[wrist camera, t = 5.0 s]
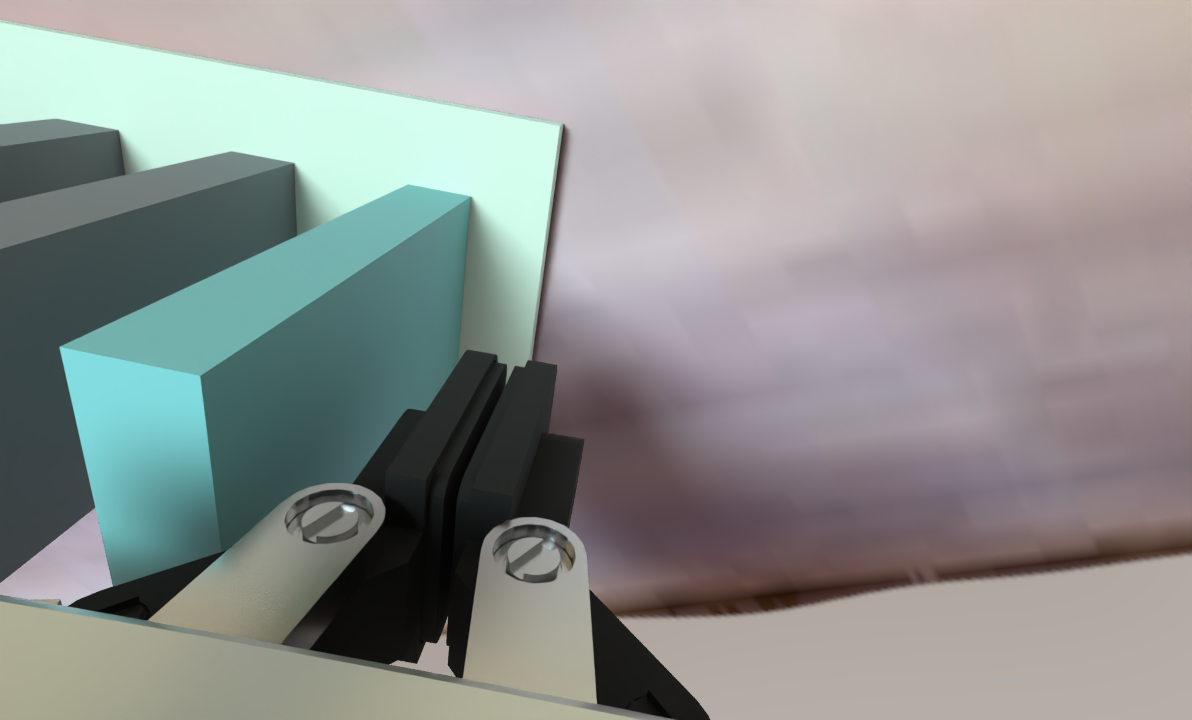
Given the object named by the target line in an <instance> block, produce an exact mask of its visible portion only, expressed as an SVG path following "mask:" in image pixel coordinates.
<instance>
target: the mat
mask: <svg viewBox="0 0 1192 720" xmlns="http://www.w3.org/2000/svg"><path fill="white" fill-rule="evenodd" d="M56 118H57V119H62V120H68V121H73V122H78V123H84V124H89V125H94V126H100V127H105V128H110V129H116V130H119V136H120V143H121V149H122V156H123V162H124V168H125V175H127V174H132V173H136V172H141V171H145V170H150V169H154V168H159V167H163V166H168V165H172V164H177V163H181V162H185V161H190V160H194V159H199V158H203V157H208V156H212V155H217V154H221V153H226V152H230V151H233V152H239V153H244V154H249V155H255V156H260V157H265V158H271V159H276V160H281V161H287V162H292V163H294V171H295V195H296V219H297V236H298V235H300V234H303V233H305V232H307V231H309V230H311V229H313V228H315V227H318V226H320V225H322V224H324V223H326V222H328V221H330V220H333V219H335V218H337V217H339V216H341V215H343V214H345V213H348V212H350V211H352V210H354V209H356V208H358V207H360V206H363V205H365V204H367V203H369V202H371V201H373V200H375V199H378V198H380V197H382V196H384V195H386V194H388V193H390V192H393V191H395V190H397V189H399V188H401V187H403V186H405V185H408V184H410V185H415V186H420V187H425V188H430V189H436V190H441V191H446V192H451V193H456V194H461V195H467V196H471V203H470V216H469V228H468V241H467V254H466V267H465V280H464V293H463V306H462V319H461V332H460V344H459V357H458V362H459V360H460V359H461V357H462V356H463V354H464V353H465V351H466V350H467V349H468V350H474V351H479V352H485V353H491V354H496V355H497V356H498V363H503V364H507V377H506V384H507V382H508V379H509V377H510V375H511V373H512V371H513V369H514V367H515V366H520V367H525V365H526V363H527V361H528V360H530V361H532V355H533V348H534V340H535V333H536V325H537V318H538V310H539V303H540V295H541V288H542V280H543V273H544V265H545V258H546V250H547V243H548V236H549V228H550V221H551V213H552V206H553V198H554V191H555V183H556V176H557V168H558V161H559V153H560V146H561V138H562V131H563V123H558V122H552V121H547V120H542V119H536V118H531V117H525V116H520V115H514V114H509V113H504V112H498V111H493V110H487V109H482V108H477V107H471V106H466V105H460V104H455V103H450V102H444V101H439V100H433V99H428V98H422V97H417V96H412V95H406V94H401V93H395V92H390V91H385V90H379V89H374V88H368V87H363V86H358V85H352V84H347V83H341V82H336V81H330V80H325V79H320V78H314V77H309V76H303V75H298V74H293V73H287V72H282V71H276V70H271V69H266V68H260V67H255V66H249V65H244V64H239V63H233V62H228V61H222V60H217V59H211V58H206V57H201V56H195V55H190V54H184V53H179V52H174V51H168V50H163V49H157V48H152V47H147V46H141V45H136V44H130V43H125V42H119V41H114V40H109V39H103V38H98V37H92V36H87V35H82V34H76V33H71V32H65V31H60V30H55V29H49V28H44V27H38V26H33V25H27V24H22V23H17V22H11V21H6V20H0V124H8V123H18V122H27V121H37V120H46V119H56Z"/></svg>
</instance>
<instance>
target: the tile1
mask: <svg viewBox="0 0 1192 720" xmlns="http://www.w3.org/2000/svg"><path fill="white" fill-rule="evenodd" d="M470 203H471V196H467V195H461V194H456V193H451V192H446V191H441V190H436V189H430V188H425V187H420V186H415V185H410V184H408V185H405V186H403V187H401V188H399V189H397V190H395V191H393V192H390V193H388V194H386V195H384V196H382V197H380V198H378V199H375V200H373V201H371V202H369V203H367V204H365V205H363V206H360V207H358V208H356V209H354V210H352V211H350V212H348V213H345V214H343V215H341V216H339V217H337V218H335V219H333V220H330V221H328V222H326V223H324V224H322V225H320V226H318V227H315V228H313V229H311V230H309V231H307V232H305V233H303V234H300V235H298V236H296V237H294V238H292V239H290V240H288V241H285V242H283V243H281V244H279V245H277V246H275V247H273V248H270V249H268V250H266V251H264V252H262V253H260V254H258V255H255V256H253V257H251V258H249V259H247V260H245V261H243V262H240V263H238V264H236V265H234V266H232V267H230V268H228V269H225V270H223V271H221V272H219V273H217V274H215V275H213V276H210V277H208V278H206V279H204V280H202V281H200V282H198V283H195V284H193V285H191V286H189V287H187V288H185V289H182V290H180V291H178V292H176V293H174V294H172V295H170V296H167V297H165V298H163V299H161V300H159V301H157V302H155V303H152V304H150V305H148V306H146V307H144V308H142V309H140V310H137V311H135V312H133V313H131V314H129V315H127V316H125V317H122V318H120V319H118V320H116V321H114V322H112V323H110V324H107V325H105V326H103V327H101V328H99V329H97V330H95V331H92V332H90V333H88V334H86V335H84V336H82V337H80V338H77V339H75V340H73V341H71V342H69V343H67V344H65V345H62V346H60V352H61V356H62V361H63V365H64V370H65V374H66V378H67V383H68V387H69V392H70V396H71V401H72V405H73V410H74V414H75V419H76V423H77V428H78V432H79V437H80V441H81V445H82V450H83V454H84V459H85V463H86V468H87V472H88V477H89V481H90V486H91V490H92V495H93V499H94V504H95V508H96V512H97V517H98V521H99V526H100V530H101V535H102V539H103V544H104V548H105V553H106V557H107V562H108V566H109V570H110V575H111V579H112V584H113V586H117V585H120V584H123V583H126V582H129V581H132V580H135V579H138V578H141V577H145V576H148V575H151V574H154V573H157V572H160V571H163V570H166V569H170V568H173V567H176V566H179V565H182V564H185V563H188V562H191V561H194V560H198V559H201V558H204V557H207V556H210V555H213V554H216V553H219V552H222V551H226V550H228V549H229V548H231V547H232V546H233V545H234V544H235V543H236V542H237V541H239V540H240V539H241V538H242V537H243V536H244V535H245V534H246V533H248V532H249V531H250V530H251V529H252V528H253V527H254V526H256V525H257V524H258V523H259V522H260V521H261V520H262V519H264V518H265V517H266V516H267V515H268V514H269V513H270V512H271V511H273V510H274V509H275V508H276V507H277V506H278V505H279V504H281V503H282V502H283V501H284V500H286V499H287V498H289V497H290V496H292V495H293V494H295V493H296V492H299V491H301V490H304V489H306V488H309V487H311V486H316V485H321V484H326V483H348V484H353V482H354V481H355V479H356V478H357V477H358V475H359V474H360V472H361V471H362V470H363V468H364V467H365V466H366V464H367V463H368V461H369V460H370V459H371V457H372V456H373V454H374V453H375V452H376V450H377V449H378V448H379V446H380V445H381V443H382V442H383V441H384V439H385V438H386V436H387V435H388V434H389V432H390V431H391V430H392V428H393V427H394V425H395V424H396V423H397V421H398V420H399V418H400V417H401V416H402V414H403V413H404V412H405V411H406V410H407V409H416V410H421V411H426V410H427V409H428V407H429V406H430V404H431V403H432V401H433V400H434V398H435V397H436V395H437V394H438V392H439V391H440V389H441V388H442V386H443V385H444V383H445V382H446V380H447V379H448V377H449V375H450V374H451V372H452V371H453V369H454V368H455V366H456V365H457V363H458V357H459V344H460V332H461V319H462V306H463V293H464V280H465V267H466V254H467V241H468V228H469V216H470Z"/></svg>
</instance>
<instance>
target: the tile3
mask: <svg viewBox="0 0 1192 720" xmlns="http://www.w3.org/2000/svg"><path fill="white" fill-rule="evenodd" d="M123 175H125V168H124V162H123V156H122V149H121V143H120V136H119V130H116V129H110V128H105V127H100V126H94V125H89V124H84V123H78V122H73V121H68V120H62V119H57V118H56V119H46V120H37V121H27V122H18V123H8V124H0V203H2V202H7V201H11V200H16V199H20V198H25V197H29V196H34V195H38V194H43V193H47V192H52V191H56V190H60V189H65V188H69V187H74V186H78V185H83V184H87V183H92V182H96V181H101V180H105V179H110V178H114V177H118V176H123Z"/></svg>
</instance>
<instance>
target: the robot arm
mask: <svg viewBox="0 0 1192 720" xmlns="http://www.w3.org/2000/svg"><path fill="white" fill-rule="evenodd" d="M556 374H557V365H553V364H547V363H542V362H536V361H530V360H528V361H527V363H526V365H525V367H520V366H515V367H514V369H513V371H512V373H511V375H510V377H509V379H508V382H507V384H506V377H507V364H503V363H498V356H497V355H496V354H491V353H485V352H479V351H474V350H468V349H467V350H466V351H465V353H464V354H463V356H462V357H461V359H460V360H459V362H458V363H457V365H456V366H455V368H454V369H453V371H452V372H451V374H450V375H449V377H448V379H447V380H446V382H445V383H444V385H443V386H442V388H441V389H440V391H439V392H438V394H437V395H436V397H435V398H434V400H433V401H432V403H431V404H430V406H429V407H428V409H427V410H426V411H421V410H416V409H407V410H406V411H405V412H404V413H403V414H402V416H401V417H400V418H399V420H398V421H397V423H396V424H395V425H394V427H393V428H392V430H391V431H390V432H389V434H388V435H387V436H386V438H385V439H384V441H383V442H382V443H381V445H380V446H379V448H378V449H377V450H376V452H375V453H374V454H373V456H372V457H371V459H370V460H369V461H368V463H367V464H366V466H365V467H364V468H363V470H362V471H361V472H360V474H359V475H358V477H357V478H356V479H355V481H354V482H353V484H348V483H326V484H321V485H316V486H311V487H309V488H306V489H304V490H301V491H299V492H296V493H295V494H293V495H292V496H290V497H289V498H287V499H286V500H284V501H283V502H282V503H281V504H279V505H278V506H277V507H276V508H275V509H274V510H273V511H271V512H270V513H269V514H268V515H267V516H266V517H265V518H264V519H262V520H261V521H260V522H259V523H258V524H257V525H256V526H254V527H253V528H252V529H251V530H250V531H249V532H248V533H246V534H245V535H244V536H243V537H242V538H241V539H240V540H239V541H237V542H236V543H235V544H234V545H233V546H232V547H231V548H229V549H228V550H226V551H222V552H219V553H216V554H213V555H210V556H207V557H204V558H201V559H198V560H194V561H191V562H188V563H185V564H182V565H179V566H176V567H173V568H170V569H166V570H163V571H160V572H157V573H154V574H151V575H148V576H145V577H141V578H138V579H135V580H132V581H129V582H126V583H123V584H120V585H117V586H113V587H110V588H107V589H104V590H101V591H98V592H96V593H94V594H91V595H89V596H86V597H84V598H81V599H79V600H77V601H75V602H74V603H72V604H71V605H69V606H62V604H61V601H60V600H27V599H22V598H16V597H10V596H4V595H0V720H710V718H709V716H708V715H707V713H706V712H705V711H704V709H703V708H702V706H701V705H700V704H699V702H698V701H697V700H696V699H695V698H694V697H693V696H692V695H691V694H690V693H689V692H688V691H687V690H686V689H685V688H684V686H683V685H681V683H680V682H679V681H678V680H677V679H676V678H675V677H674V676H673V675H672V674H671V673H670V672H669V671H668V670H667V669H666V668H665V667H664V666H663V665H662V664H661V663H660V662H659V661H658V660H657V659H656V658H655V657H654V655H653V654H652V653H651V652H650V651H649V650H648V649H647V648H646V647H645V646H644V645H643V644H642V643H641V642H640V641H639V640H638V639H637V638H636V637H635V636H634V635H633V634H632V633H631V632H630V631H629V630H628V629H627V628H626V627H625V626H624V624H623V623H622V622H621V621H620V620H619V619H618V618H617V617H616V616H615V615H614V614H613V613H612V612H611V611H610V610H609V609H608V608H607V607H606V606H605V605H604V604H603V603H602V602H601V601H600V600H599V599H598V598H597V597H596V596H595V595H594V593H593V592H592V591H591V590H590V589H589V580H588V565H587V555H586V551H585V547H584V544H583V543H582V542H581V540H580V539H579V538H578V536H577V535H576V534H575V533H574V532H572V531H571V530H570V529H569V525H570V520H571V514H572V509H573V503H574V498H575V492H576V487H577V481H578V475H579V469H580V463H581V458H582V452H583V446H584V439H578V438H573V437H567V436H562V435H556V434H550V433H548V430H549V423H550V416H551V409H552V402H553V395H554V388H555V381H556ZM447 617H448V626H447V640H446V641H447V642H446V643H447V646H449V656H448V666H449V667H450V669H451V670H452V672H453V673H454V675H455V676H456V677H452V676H447V675H441V674H436V673H431V672H425V671H420V670H415V669H409V668H404V667H398V666H392V665H389V664H391V663H393V662H395V661H397V660H399V661H405V662H411V663H416V664H417V662H418V660H419V657H420V655H421V652H422V650H423V647H424V645H425V643H426V642H430V643H437V642H438V640H439V638H440V636H441V633H442V631H443V628H444V625H445V623H446V620H447Z"/></svg>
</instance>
